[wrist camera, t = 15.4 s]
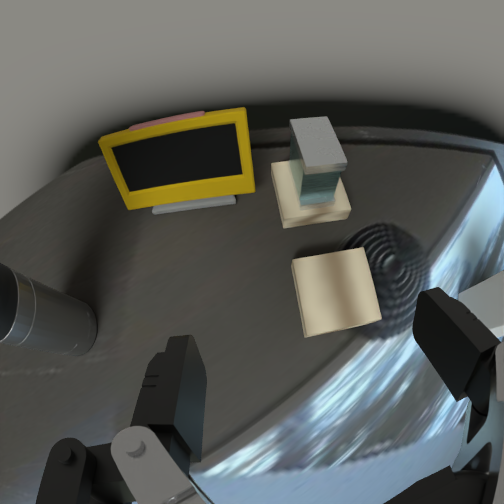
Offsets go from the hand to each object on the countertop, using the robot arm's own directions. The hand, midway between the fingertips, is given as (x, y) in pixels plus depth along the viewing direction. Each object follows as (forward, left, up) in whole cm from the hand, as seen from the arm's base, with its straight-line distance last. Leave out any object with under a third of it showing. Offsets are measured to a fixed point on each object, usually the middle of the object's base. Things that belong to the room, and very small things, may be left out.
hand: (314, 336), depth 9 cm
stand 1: (+8, +23, -29) cm, 37 cm away
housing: (+8, +23, -26) cm, 35 cm away
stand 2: (+8, +7, -29) cm, 31 cm away
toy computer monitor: (-10, +27, -29) cm, 41 cm away
